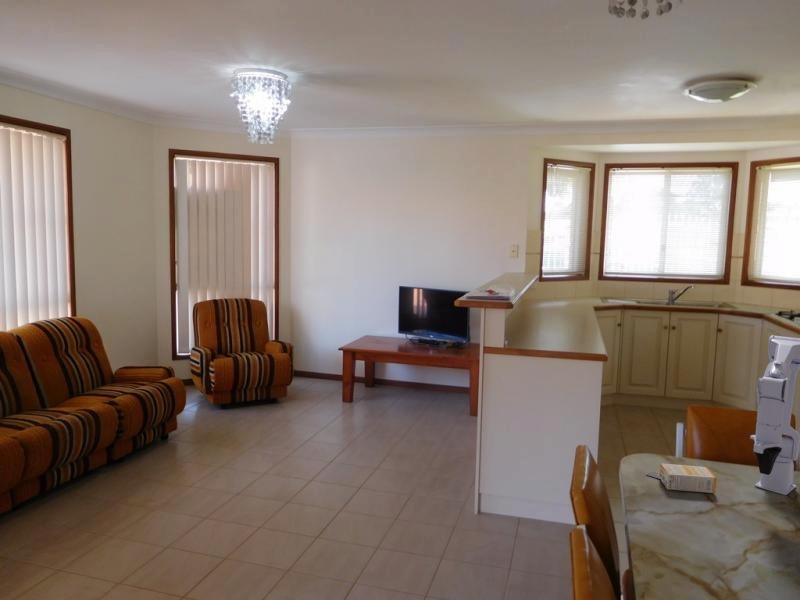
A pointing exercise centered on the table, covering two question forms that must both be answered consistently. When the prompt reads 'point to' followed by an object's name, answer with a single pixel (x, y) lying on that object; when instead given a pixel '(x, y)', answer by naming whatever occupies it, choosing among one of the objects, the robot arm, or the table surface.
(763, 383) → the robot arm
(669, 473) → the supplement box
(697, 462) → the table surface
